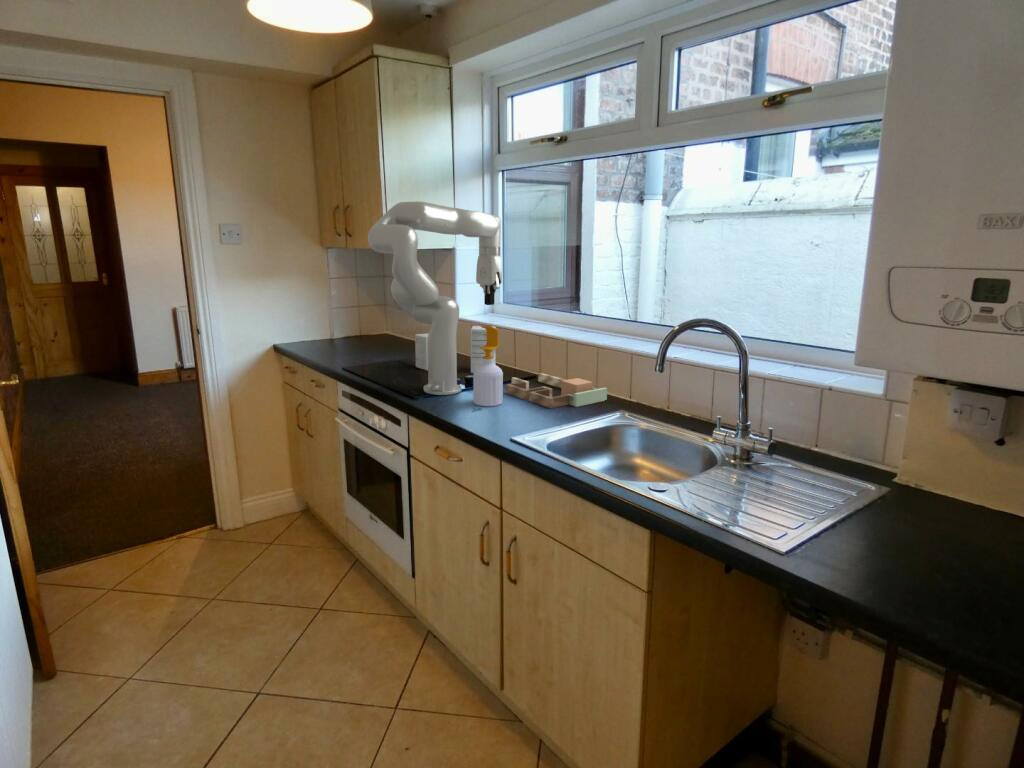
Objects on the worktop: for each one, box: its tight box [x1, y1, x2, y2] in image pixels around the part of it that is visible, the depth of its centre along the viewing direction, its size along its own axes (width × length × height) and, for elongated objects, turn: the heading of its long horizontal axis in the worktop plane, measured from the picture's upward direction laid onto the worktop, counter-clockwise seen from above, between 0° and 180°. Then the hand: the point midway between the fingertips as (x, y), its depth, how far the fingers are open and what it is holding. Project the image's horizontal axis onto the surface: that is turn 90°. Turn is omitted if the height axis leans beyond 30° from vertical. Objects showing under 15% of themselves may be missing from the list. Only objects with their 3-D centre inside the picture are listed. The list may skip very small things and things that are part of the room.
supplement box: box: [470, 325, 497, 374], centre depth 240 cm, size 10×9×17 cm
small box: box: [414, 332, 429, 371], centre depth 244 cm, size 8×6×13 cm
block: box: [560, 377, 594, 396], centre depth 202 cm, size 7×7×6 cm
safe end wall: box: [573, 387, 608, 408], centre depth 197 cm, size 1×13×4 cm, turn 128°
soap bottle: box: [472, 325, 504, 408], centre depth 194 cm, size 9×9×25 cm
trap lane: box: [505, 372, 598, 409], centre depth 208 cm, size 31×21×3 cm
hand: (489, 304), depth 223 cm, fingers closed
